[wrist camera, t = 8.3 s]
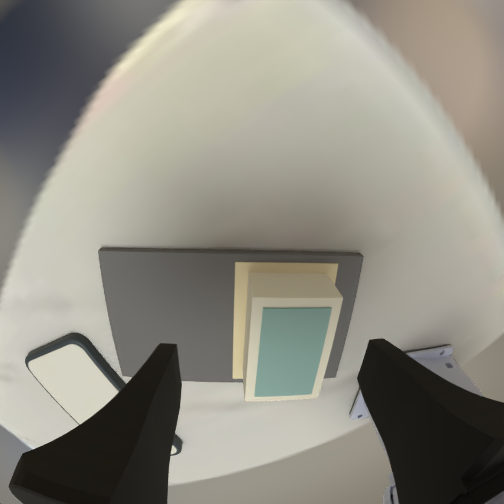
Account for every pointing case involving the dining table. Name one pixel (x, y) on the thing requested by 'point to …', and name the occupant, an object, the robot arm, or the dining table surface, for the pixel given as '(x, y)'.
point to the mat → (205, 303)
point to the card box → (288, 334)
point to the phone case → (78, 377)
